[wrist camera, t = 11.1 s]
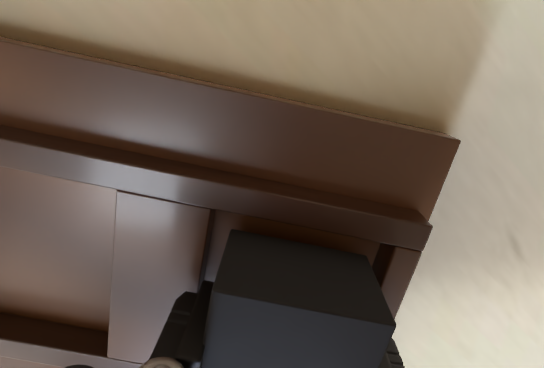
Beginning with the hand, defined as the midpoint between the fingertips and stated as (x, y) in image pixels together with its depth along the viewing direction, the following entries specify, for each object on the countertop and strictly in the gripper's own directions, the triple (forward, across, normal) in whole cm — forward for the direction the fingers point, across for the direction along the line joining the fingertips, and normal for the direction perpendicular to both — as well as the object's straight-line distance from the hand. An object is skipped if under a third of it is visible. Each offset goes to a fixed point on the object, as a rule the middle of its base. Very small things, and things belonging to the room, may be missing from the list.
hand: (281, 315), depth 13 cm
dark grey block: (0, 0, 0) cm, 0 cm away
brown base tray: (+2, +5, 0) cm, 5 cm away
